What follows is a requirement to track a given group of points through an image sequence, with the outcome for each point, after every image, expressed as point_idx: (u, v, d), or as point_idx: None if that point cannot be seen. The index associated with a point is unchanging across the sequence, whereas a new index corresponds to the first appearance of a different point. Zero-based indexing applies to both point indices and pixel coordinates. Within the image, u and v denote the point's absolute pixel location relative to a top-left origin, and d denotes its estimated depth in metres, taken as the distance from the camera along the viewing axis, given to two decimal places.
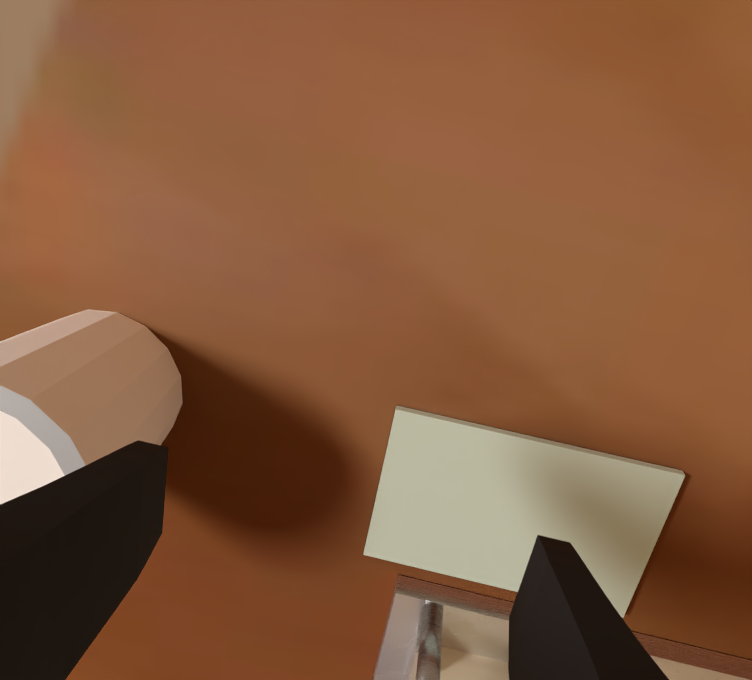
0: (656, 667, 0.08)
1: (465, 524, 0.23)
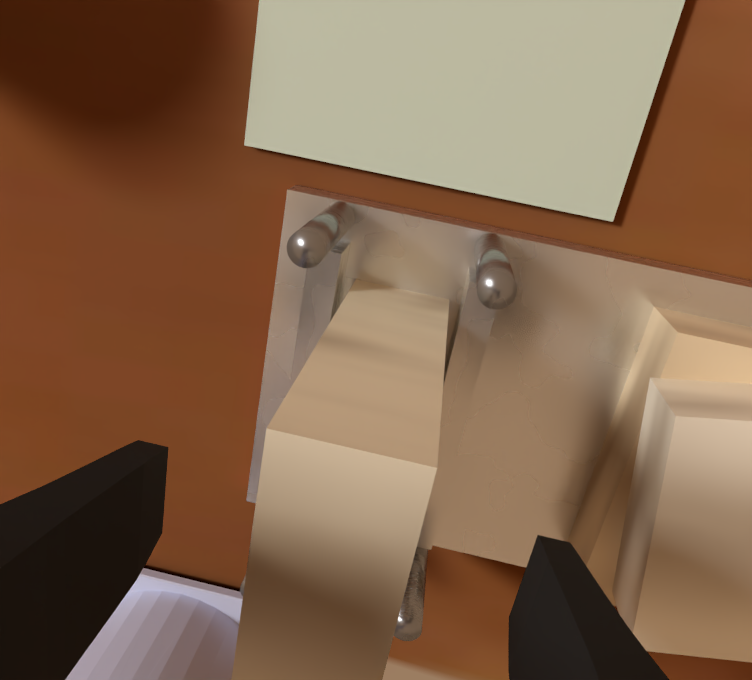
0: (656, 667, 0.08)
1: (383, 73, 0.16)
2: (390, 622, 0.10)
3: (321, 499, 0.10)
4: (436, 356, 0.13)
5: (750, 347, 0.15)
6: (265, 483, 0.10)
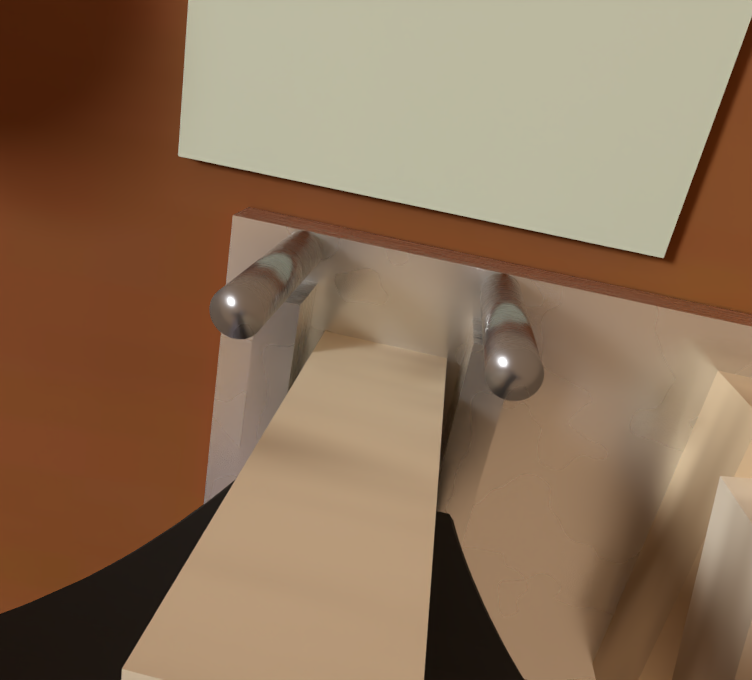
0: (490, 626, 0.09)
1: (359, 61, 0.12)
2: None
3: None
4: (426, 464, 0.09)
5: None
6: None
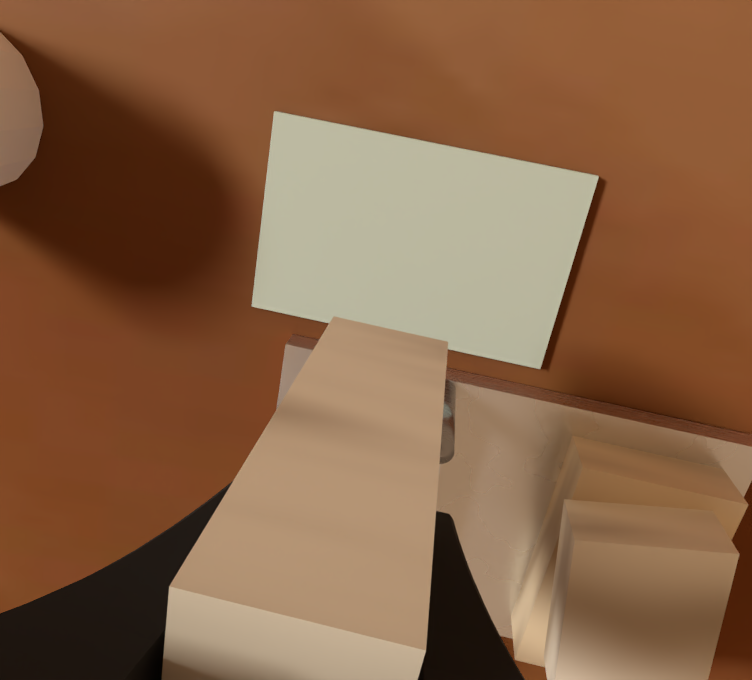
0: (490, 626, 0.09)
1: (360, 259, 0.21)
2: None
3: None
4: (429, 431, 0.10)
5: (638, 479, 0.19)
6: (173, 658, 0.07)
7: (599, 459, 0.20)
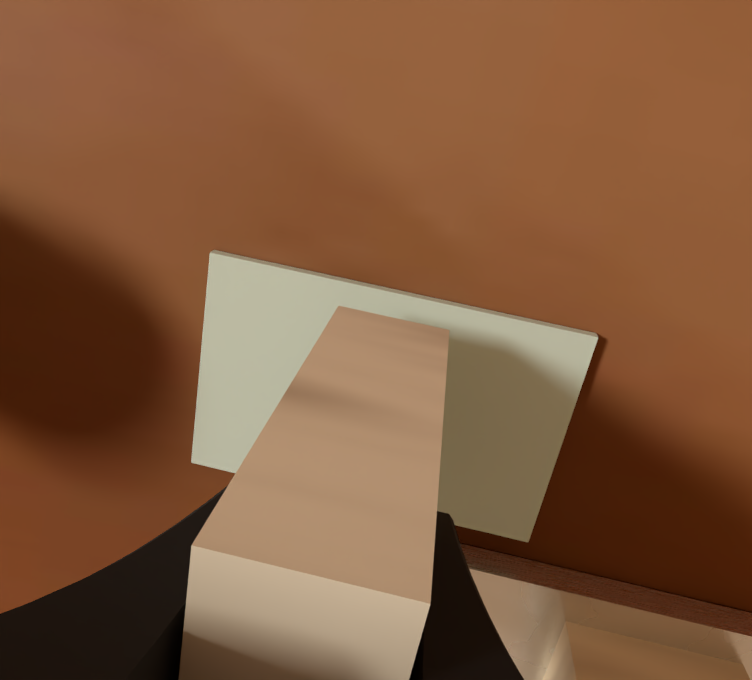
0: (489, 626, 0.09)
1: None
2: None
3: (271, 638, 0.07)
4: (432, 412, 0.11)
5: None
6: (194, 614, 0.07)
7: (597, 663, 0.17)
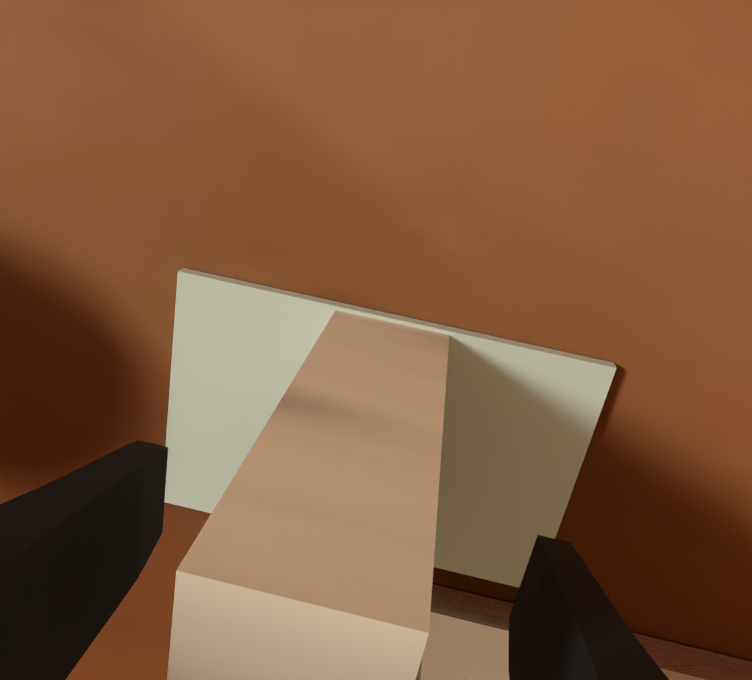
0: (656, 667, 0.08)
1: None
2: None
3: (260, 667, 0.07)
4: (431, 422, 0.10)
5: None
6: (180, 642, 0.07)
7: None
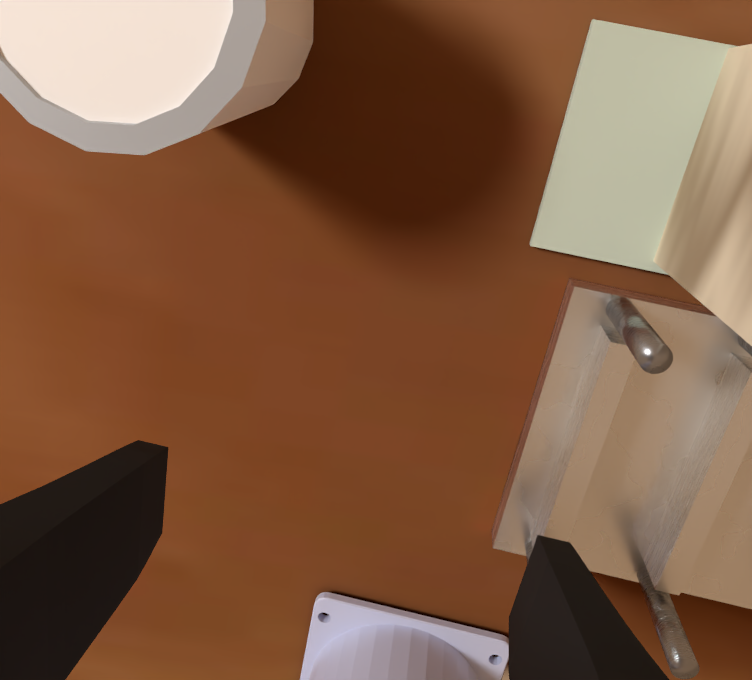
0: (656, 667, 0.08)
1: (667, 189, 0.19)
2: None
3: None
4: None
5: None
6: None
7: None
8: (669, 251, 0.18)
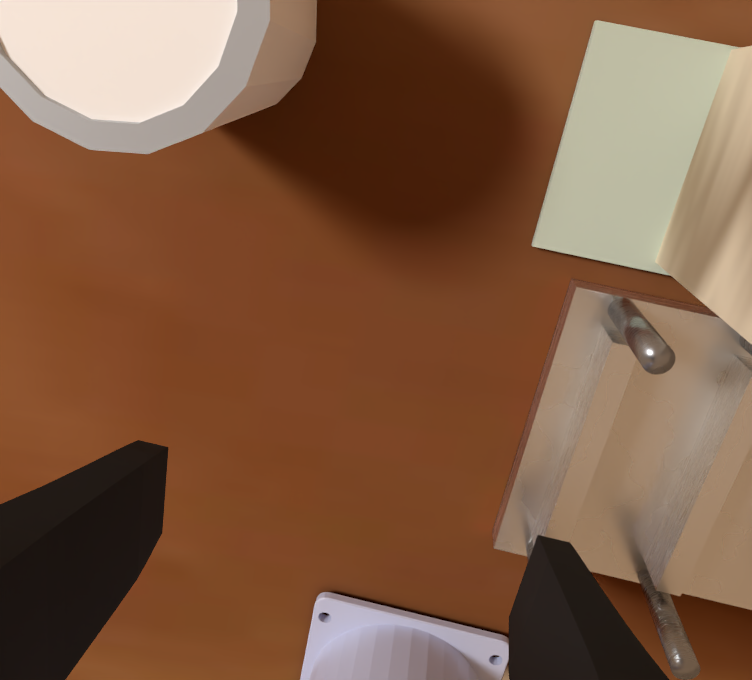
0: (656, 667, 0.08)
1: (669, 190, 0.19)
2: None
3: None
4: None
5: None
6: None
7: None
8: (671, 251, 0.18)
